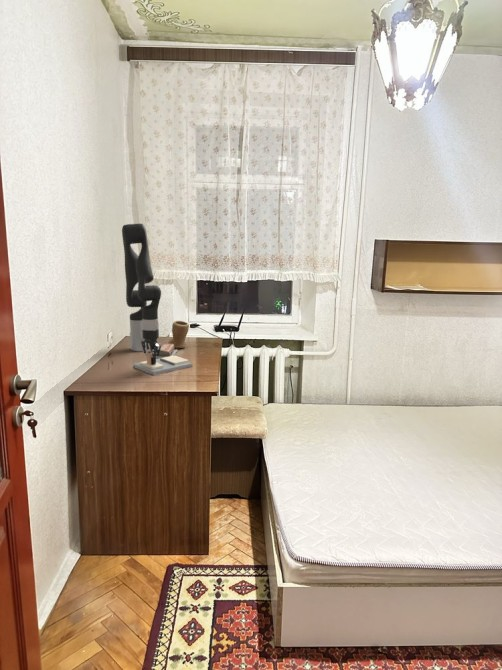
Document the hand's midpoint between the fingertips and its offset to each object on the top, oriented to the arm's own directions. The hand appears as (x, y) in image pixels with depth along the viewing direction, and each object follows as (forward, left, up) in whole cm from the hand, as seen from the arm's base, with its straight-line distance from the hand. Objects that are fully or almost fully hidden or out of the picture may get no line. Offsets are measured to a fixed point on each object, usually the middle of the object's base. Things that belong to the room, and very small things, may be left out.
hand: (151, 363), depth 210 cm
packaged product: (-18, +20, -3) cm, 28 cm away
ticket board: (0, +7, -3) cm, 8 cm away
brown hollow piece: (-29, +36, -3) cm, 47 cm away
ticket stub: (0, 0, -1) cm, 1 cm away
